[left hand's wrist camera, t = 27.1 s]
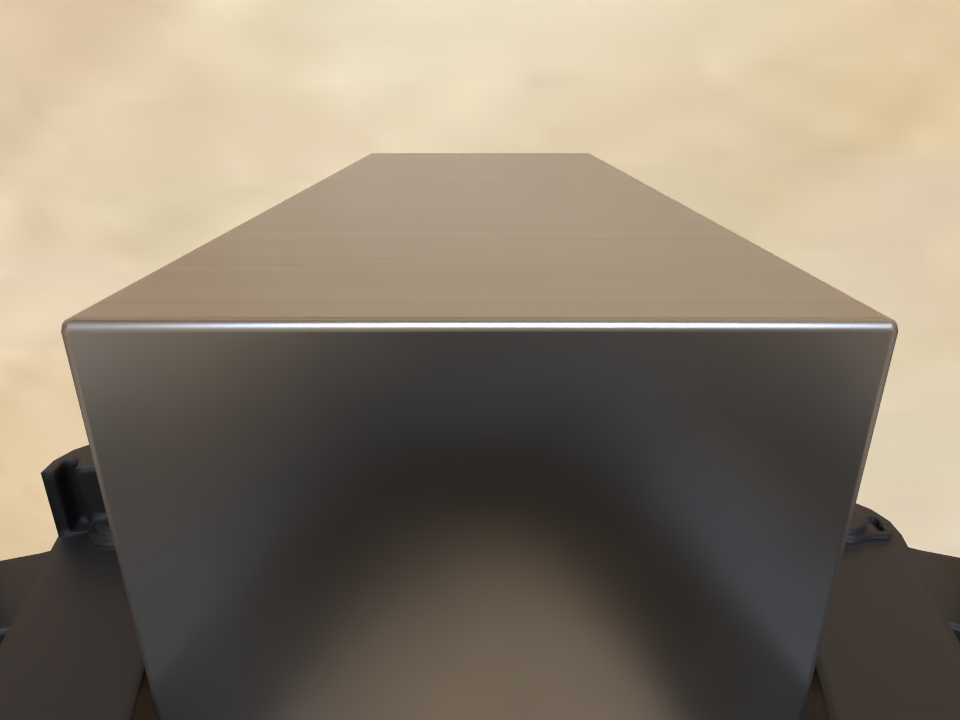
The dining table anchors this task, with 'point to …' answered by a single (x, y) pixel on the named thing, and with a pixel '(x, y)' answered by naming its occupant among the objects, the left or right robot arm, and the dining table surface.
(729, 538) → the block
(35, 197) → the dining table surface
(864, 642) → the left robot arm
